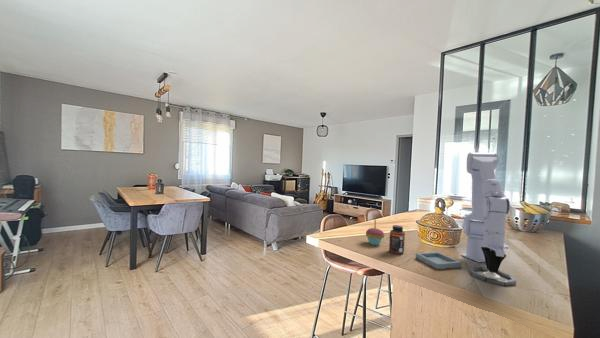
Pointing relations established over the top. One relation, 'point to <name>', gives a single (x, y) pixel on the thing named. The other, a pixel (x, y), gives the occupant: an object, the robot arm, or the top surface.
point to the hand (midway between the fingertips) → (491, 270)
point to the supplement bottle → (397, 240)
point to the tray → (438, 260)
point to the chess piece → (491, 275)
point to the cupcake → (374, 235)
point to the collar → (490, 280)
